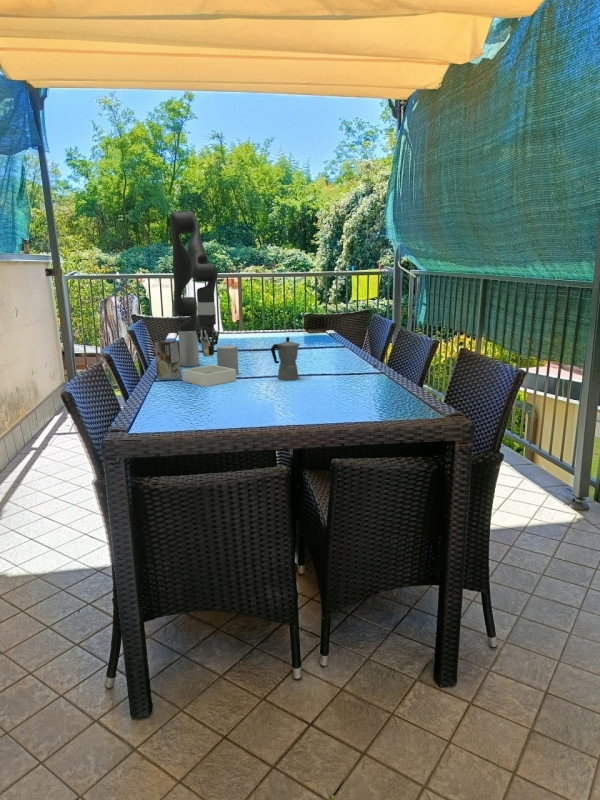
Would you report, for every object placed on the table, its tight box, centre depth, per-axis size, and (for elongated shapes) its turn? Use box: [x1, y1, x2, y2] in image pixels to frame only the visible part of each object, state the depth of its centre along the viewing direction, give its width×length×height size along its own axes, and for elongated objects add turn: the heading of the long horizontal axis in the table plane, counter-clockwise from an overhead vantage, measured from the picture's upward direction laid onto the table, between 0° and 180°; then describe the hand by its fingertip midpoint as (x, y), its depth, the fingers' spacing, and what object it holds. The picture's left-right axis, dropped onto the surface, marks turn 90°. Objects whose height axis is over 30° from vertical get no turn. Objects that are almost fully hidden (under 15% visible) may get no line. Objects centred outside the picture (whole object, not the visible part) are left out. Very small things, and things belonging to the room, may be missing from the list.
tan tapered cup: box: [202, 340, 214, 358], centre depth 231 cm, size 4×4×6 cm
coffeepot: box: [270, 336, 301, 382], centre depth 236 cm, size 15×9×18 cm, turn 129°
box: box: [182, 364, 237, 388], centre depth 234 cm, size 16×16×5 cm
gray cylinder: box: [216, 344, 239, 376], centre depth 250 cm, size 10×10×12 cm
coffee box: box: [154, 339, 182, 380], centre depth 240 cm, size 9×6×16 cm
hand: (208, 354), depth 232 cm, fingers closed on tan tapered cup, 4 cm apart
